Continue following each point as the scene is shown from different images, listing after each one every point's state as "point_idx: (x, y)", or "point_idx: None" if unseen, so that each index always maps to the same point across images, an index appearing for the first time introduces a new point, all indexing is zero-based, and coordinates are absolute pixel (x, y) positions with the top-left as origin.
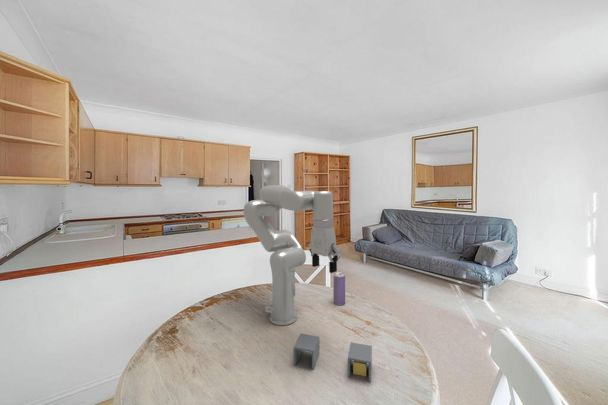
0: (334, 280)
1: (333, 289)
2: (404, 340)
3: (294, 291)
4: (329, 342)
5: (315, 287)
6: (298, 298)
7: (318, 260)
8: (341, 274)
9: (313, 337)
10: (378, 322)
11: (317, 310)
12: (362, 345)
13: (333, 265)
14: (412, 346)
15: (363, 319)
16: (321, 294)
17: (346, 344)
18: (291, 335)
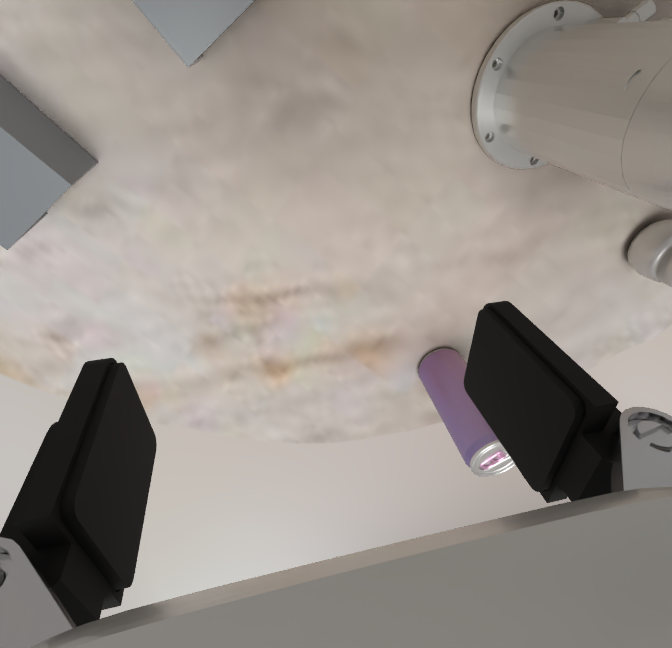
0: None
1: None
2: None
3: (635, 262)
4: (248, 164)
5: (585, 357)
6: (590, 256)
7: (501, 427)
8: (490, 465)
9: (196, 26)
10: (256, 393)
11: (462, 267)
12: (24, 215)
13: (22, 496)
14: None
15: (300, 367)
16: None
17: (200, 218)
18: (398, 31)
